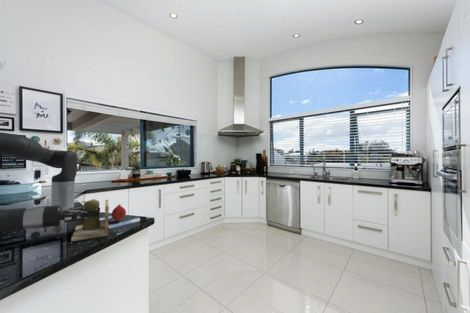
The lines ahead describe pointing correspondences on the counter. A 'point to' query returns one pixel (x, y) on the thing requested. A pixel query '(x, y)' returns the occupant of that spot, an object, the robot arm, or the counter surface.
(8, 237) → the counter surface
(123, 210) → the onion
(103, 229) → the condiment stand
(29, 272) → the counter surface
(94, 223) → the olive yellow tapered cylinder
